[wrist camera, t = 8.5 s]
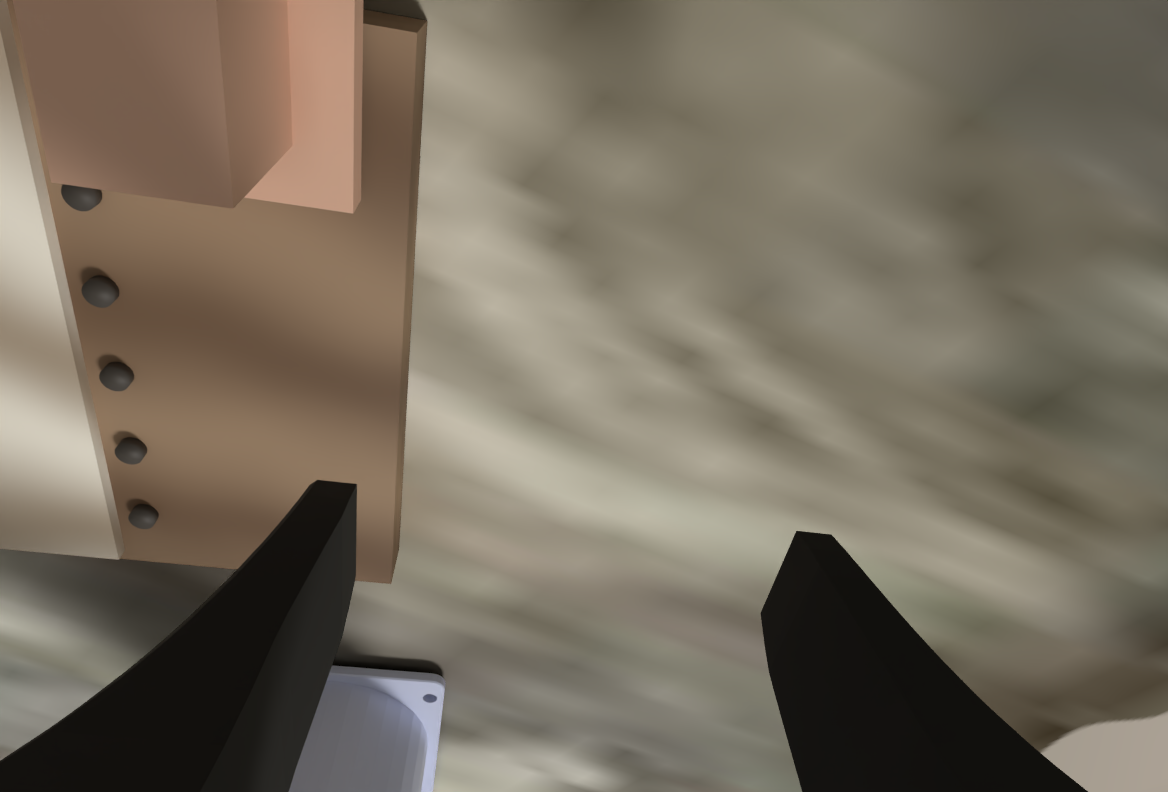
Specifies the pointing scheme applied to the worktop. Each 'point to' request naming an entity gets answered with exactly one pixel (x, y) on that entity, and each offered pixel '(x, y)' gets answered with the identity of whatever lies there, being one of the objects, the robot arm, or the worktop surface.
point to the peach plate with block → (200, 97)
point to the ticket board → (205, 343)
